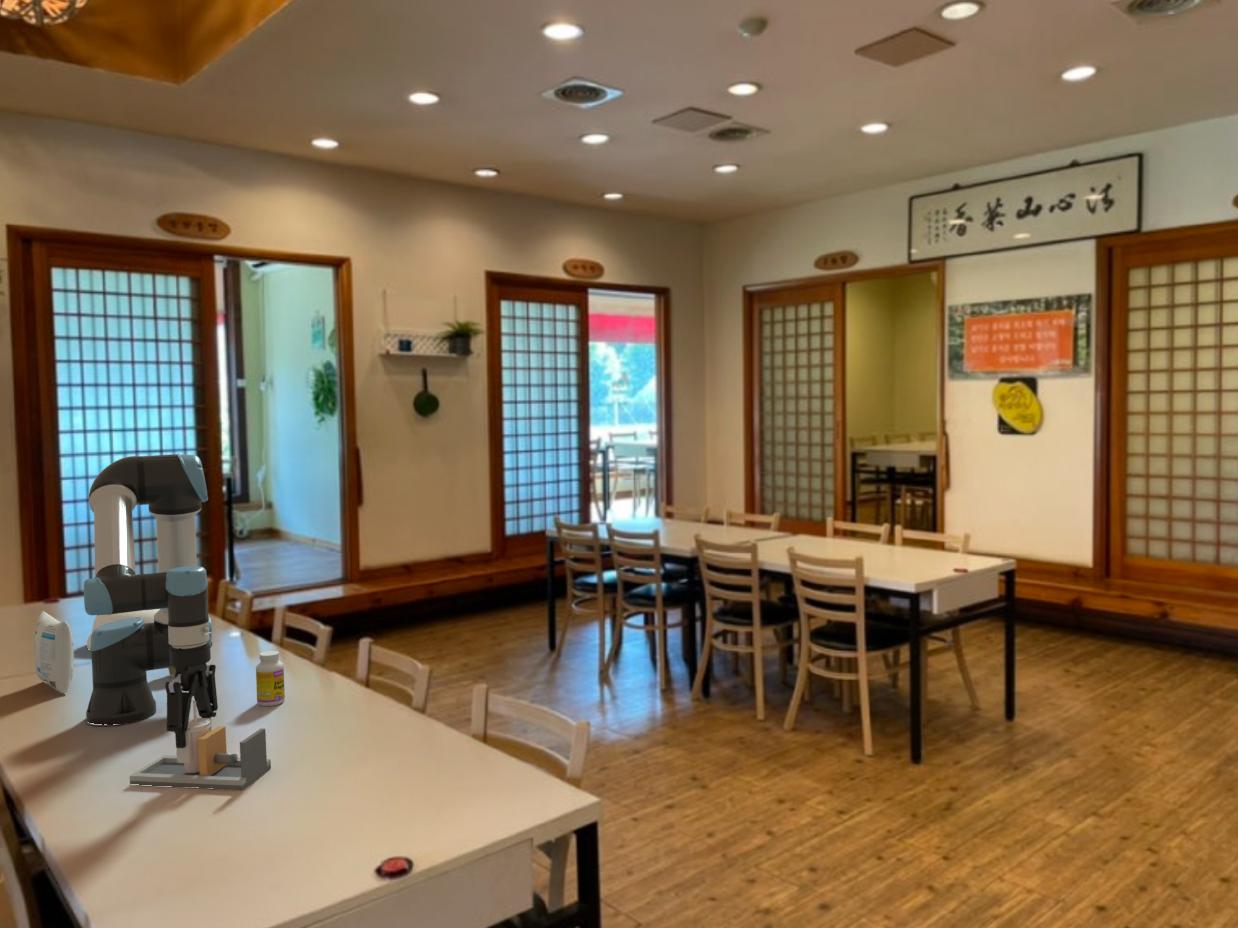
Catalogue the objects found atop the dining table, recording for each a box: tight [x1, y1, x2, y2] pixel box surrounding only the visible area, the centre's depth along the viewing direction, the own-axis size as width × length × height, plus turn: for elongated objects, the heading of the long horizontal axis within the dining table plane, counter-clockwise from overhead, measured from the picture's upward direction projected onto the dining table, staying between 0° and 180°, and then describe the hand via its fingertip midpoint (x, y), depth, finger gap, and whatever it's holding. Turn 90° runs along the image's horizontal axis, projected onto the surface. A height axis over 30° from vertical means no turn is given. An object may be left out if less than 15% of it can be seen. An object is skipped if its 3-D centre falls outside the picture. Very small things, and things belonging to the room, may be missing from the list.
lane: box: [129, 728, 272, 791], centre depth 187 cm, size 24×11×9 cm, turn 82°
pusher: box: [198, 725, 239, 776], centre depth 187 cm, size 6×7×8 cm
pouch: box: [33, 610, 75, 694], centre depth 250 cm, size 8×19×20 cm, turn 43°
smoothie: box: [184, 700, 212, 773], centre depth 187 cm, size 6×6×14 cm
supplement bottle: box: [255, 650, 286, 707], centre depth 234 cm, size 7×7×13 cm
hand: (195, 755), depth 188 cm, fingers closed on smoothie, 6 cm apart
